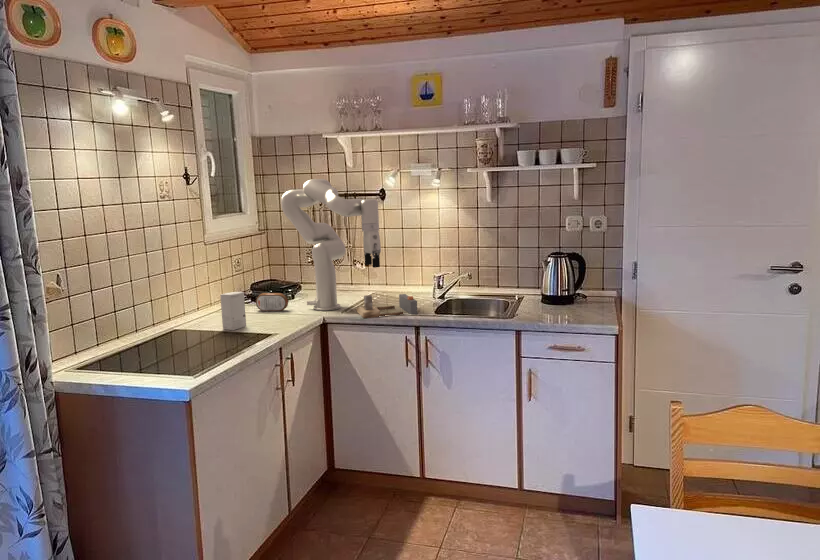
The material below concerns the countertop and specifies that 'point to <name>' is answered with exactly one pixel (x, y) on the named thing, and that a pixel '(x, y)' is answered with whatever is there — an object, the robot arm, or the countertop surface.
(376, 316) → the track
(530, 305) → the countertop surface
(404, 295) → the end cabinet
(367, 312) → the post on wide base
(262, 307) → the tin
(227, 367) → the countertop surface
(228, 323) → the skincare box
